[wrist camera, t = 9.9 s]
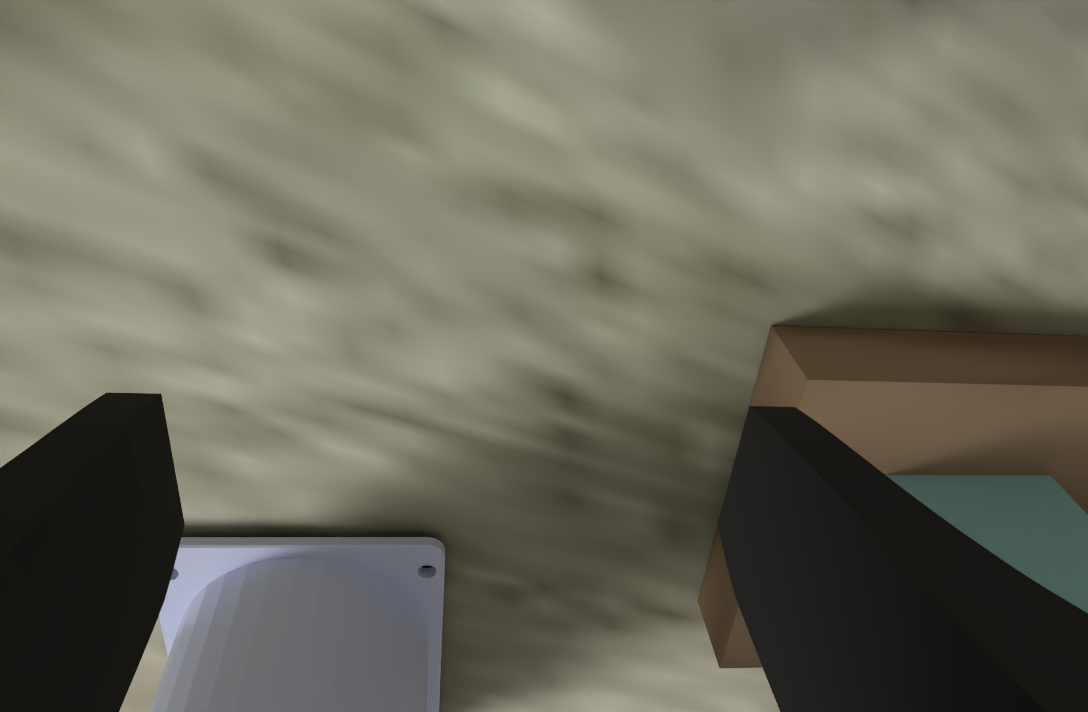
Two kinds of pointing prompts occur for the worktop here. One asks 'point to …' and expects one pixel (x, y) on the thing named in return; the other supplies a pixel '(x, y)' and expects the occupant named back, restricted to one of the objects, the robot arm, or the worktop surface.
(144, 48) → the worktop surface
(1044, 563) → the teal cube
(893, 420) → the walnut block
